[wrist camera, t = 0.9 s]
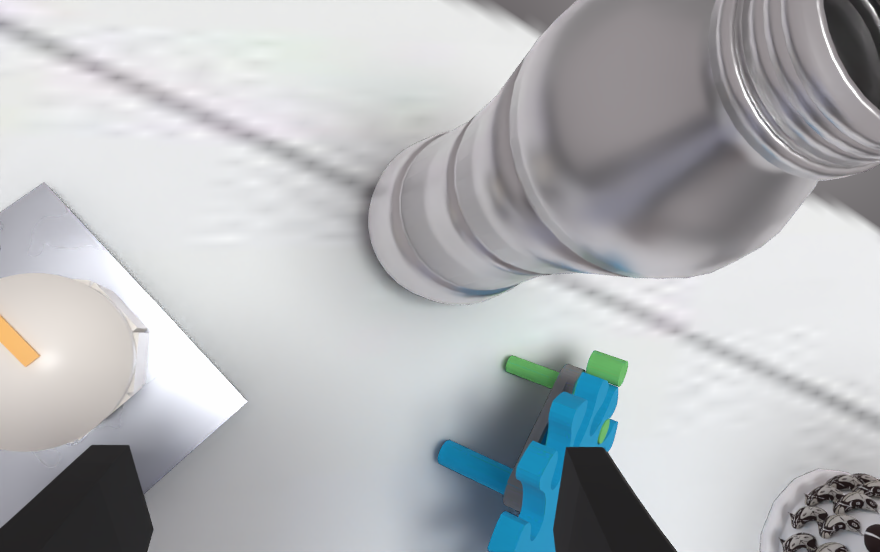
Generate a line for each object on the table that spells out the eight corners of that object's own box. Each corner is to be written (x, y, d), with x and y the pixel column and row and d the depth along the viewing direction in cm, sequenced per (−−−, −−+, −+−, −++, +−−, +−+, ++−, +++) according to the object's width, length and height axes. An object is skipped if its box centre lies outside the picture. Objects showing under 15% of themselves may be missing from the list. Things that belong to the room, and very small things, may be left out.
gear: (546, 669, 26) (491, 640, 18) (420, 594, 29) (326, 540, 21) (647, 421, 30) (639, 309, 22) (529, 376, 33) (484, 262, 25)
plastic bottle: (363, 140, 27) (721, -296, 8) (514, 168, 29) (1069, -129, 11) (347, 298, 26) (702, 211, 8) (504, 315, 29) (1081, 278, 10)
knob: (176, 358, 23) (168, 366, 18) (63, 453, 22) (17, 491, 17) (83, 259, 23) (45, 236, 17) (-40, 350, 21) (-122, 356, 16)
